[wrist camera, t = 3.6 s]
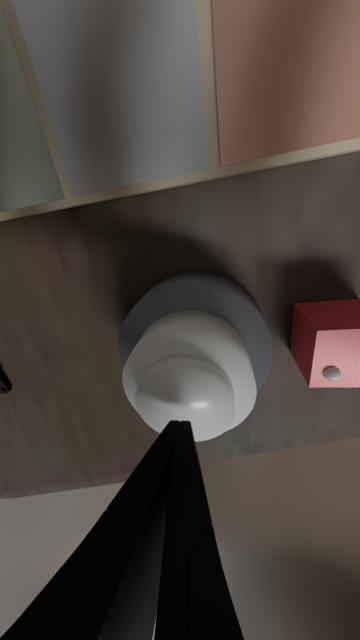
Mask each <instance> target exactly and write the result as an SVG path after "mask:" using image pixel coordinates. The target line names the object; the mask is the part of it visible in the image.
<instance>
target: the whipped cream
mask: <svg viewBox="0 0 360 640" xmlns="http://www.w3.org/2000/svg"><path fill="white" fill-rule="evenodd" d="M122 380H123V387H124V391H125V393H126V396H127V398H128V400H129V401H130V403H131V404H132V406H133V407H134V408H135V410H136V411H137V412H138V413H139V414H140V416H141V417H142V419H143V420H144V421H145V422H146V423H147V424H148V425H149V426H150V427H151V428H153V429H154V430H156V431H157V432H159V433H161V432H162V430H163V429H164V428H165V426H166V425H167V423H168V422H169V421H170V420H179V421H182V420H185V421H190V422H191V425H192V430H193V435H194V440H195V442H196V441H205V440H209V439H212V438H215V437H217V436H219V435H221V434H222V433H224V432H225V431H228V430H230V429H232V428H234V427H235V426H237V425H238V424H240V423H241V422H242V421H243V420H244V419H245V418H246V417H247V416H248V415H249V414H250V412H251V411H252V408H253V406H254V404H255V400H256V393H257V390H256V382H255V378H254V374H253V369H252V365H251V360H250V356H249V352H248V348H247V345H246V343H245V341H244V339H243V338H242V336H241V334H240V333H239V332H238V331H237V330H236V329H235V328H234V327H233V326H232V325H231V324H229V323H228V322H227V321H225V320H224V319H222V318H220V317H218V316H215V315H213V314H210V313H206V312H202V311H195V310H183V311H176V312H172V313H169V314H166V315H164V316H162V317H160V318H158V319H157V320H155V321H154V322H153V323H151V324H150V325H149V326H148V328H147V329H146V330H145V332H144V333H143V335H142V336H141V338H140V340H139V341H138V343H137V344H136V346H135V348H134V349H133V351H132V353H131V354H130V356H129V357H128V359H127V361H126V363H125V365H124V369H123V376H122Z"/></svg>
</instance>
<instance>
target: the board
mask: <svg viewBox="0 0 360 640" xmlns="http://www.w3.org/2000/svg"><path fill="white" fill-rule="evenodd" d="M357 151H360V0H0V221H5V220H10V219H16V218H21V217H26V216H31V215H36V214H41V213H46V212H51V211H56V210H61V209H66V208H72V207H77V206H82V205H87V204H92V203H97V202H102V201H107V200H112V199H117V198H122V197H128V196H133V195H138V194H143V193H148V192H153V191H158V190H163V189H168V188H173V187H178V186H184V185H189V184H194V183H199V182H204V181H209V180H214V179H219V178H224V177H229V176H234V175H240V174H245V173H250V172H255V171H260V170H265V169H270V168H275V167H280V166H285V165H290V164H296V163H301V162H306V161H311V160H316V159H321V158H326V157H331V156H336V155H341V154H346V153H352V152H357Z"/></svg>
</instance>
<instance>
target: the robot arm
mask: <svg viewBox="0 0 360 640" xmlns="http://www.w3.org/2000/svg"><path fill="white" fill-rule="evenodd" d="M11 389H12V387H11V385H10V384H9V382H8V380H7V379H6V377H5V376H4V374H3V372H2V371H1V369H0V393H8V392H9V391H10V390H11ZM156 614H157V617H156ZM155 619H156V627H155V637H154V640H244V637H243V634H242V631H241V628H240V625H239V621H238V618H237V615H236V612H235V609H234V606H233V602H232V599H231V596H230V592H229V589H228V585H227V582H226V579H225V575H224V571H223V568H222V565H221V560H220V555H219V551H218V547H217V543H216V538H215V534H214V529H213V525H212V520H211V515H210V511H209V506H208V502H207V496H206V492H205V487H204V482H203V477H202V473H201V468H200V463H199V458H198V454H197V449H196V444H195V440H194V435H193V430H192V425H191V422H190V421H185V420H182V421H179V420H170V421H169V422H168V423H167V425H166V426H165V428H164V429H163V430H162V432H161V433H160V435H159V436H158V437H157V439H156V440H155V442H154V443H153V444H152V446H151V447H150V449H149V450H148V451H147V453H146V454H145V456H144V457H143V458H142V460H141V461H140V463H139V464H138V465H137V467H136V468H135V470H134V471H133V472H132V474H131V475H130V476H129V478H128V479H127V481H126V482H125V483H124V485H123V486H122V488H121V489H120V490H119V492H118V493H117V495H116V496H115V497H114V499H113V500H112V502H111V503H110V504H109V506H108V507H107V511H104V512H103V514H102V515H101V517H100V518H99V520H98V521H97V522H96V524H95V525H94V527H93V528H92V529H91V530H90V532H89V533H88V534H87V536H86V537H85V538H84V540H83V541H82V542H81V544H80V545H79V546H78V547H77V549H76V550H75V551H74V552H73V553H72V555H71V556H70V557H69V558H68V560H67V561H66V562H65V563H64V564H63V566H62V567H61V568H60V569H59V570H58V572H57V573H56V574H55V575H54V576H53V578H52V579H51V580H50V581H49V582H48V584H47V585H46V586H45V587H44V588H43V590H42V591H41V592H40V593H39V594H38V595H37V597H36V598H35V599H34V600H33V601H32V603H31V604H30V605H29V606H28V607H27V609H26V610H25V611H24V612H23V613H22V615H21V616H20V617H19V618H18V619H17V620H16V622H15V623H14V624H13V625H12V626H11V627H10V628H9V629H8V630H7V631H6V632H5V634H4V635H3V636H2V637H1V638H0V640H152V635H153V630H154V625H155Z"/></svg>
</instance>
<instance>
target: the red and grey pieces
mask: <svg viewBox="0 0 360 640" xmlns="http://www.w3.org/2000/svg"><path fill="white" fill-rule="evenodd" d="M183 310H195V311H202V312H206V313H210V314H213V315H215V316H218V317H220V318H222V319H224V320H225V321H227V322H228V323H229V324H231V325H232V326H233V327H234V328H235V329H236V330H237V331H238V332H239V333H240V334H241V336H242V338H243V339H244V341H245V343H246V345H247V348H248V352H249V356H250V360H251V365H252V369H253V374H254V378H255V382H256V390H257V392H258V391H259V390H260V389H261V388H262V386H263V385H264V383H265V382H266V381H267V379H268V377H269V375H270V372H271V369H272V366H273V359H274V347H273V342H272V338H271V335H270V333H269V330H268V328H267V325H266V323H265V321H264V319H263V316H262V314H261V312H260V309H259V307H258V305H257V304H256V302H255V300H254V298H253V297H252V296H251V295H250V293H249V292H248V291H247V290H246V289H245V288H244V287H242V286H241V285H240V284H238V283H237V282H236V281H234V280H232V279H230V278H228V277H227V276H224V275H221V274H219V273H215V272H211V271H204V270H188V271H182V272H178V273H175V274H172V275H169V276H167V277H165V278H163V279H162V280H160V281H159V282H157V283H156V284H154V285H153V286H152V287H151V288H150V289H149V290H148V291H147V292H146V294H145V295H144V296H143V297H142V298H141V299H140V300H139V301H138V302H137V304H136V305H135V306H134V307H133V308H132V309H131V311H130V312H129V313H128V315H127V316H126V318H125V320H124V322H123V325H122V327H121V331H120V336H119V351H120V356H121V360H122V363H123V365H125V363H126V361H127V359H128V357H129V356H130V354H131V353H132V351H133V349H134V348H135V346H136V344H137V343H138V341H139V340H140V338H141V336H142V335H143V333H144V332H145V330H146V329H147V328H148V326H149V325H150V324H151V323H153V322H154V321H155V320H157V319H158V318H160V317H162V316H164V315H166V314H169V313H172V312H176V311H183ZM290 352H291V354H292V356H293V358H294V360H295V361H296V363H297V365H298V367H299V369H300V371H301V373H302V375H303V377H304V378H305V380H306V382H307V384H308V386H309V387H360V299H346V300H332V301H319V302H305V303H294V307H293V318H292V330H291V342H290Z"/></svg>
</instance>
